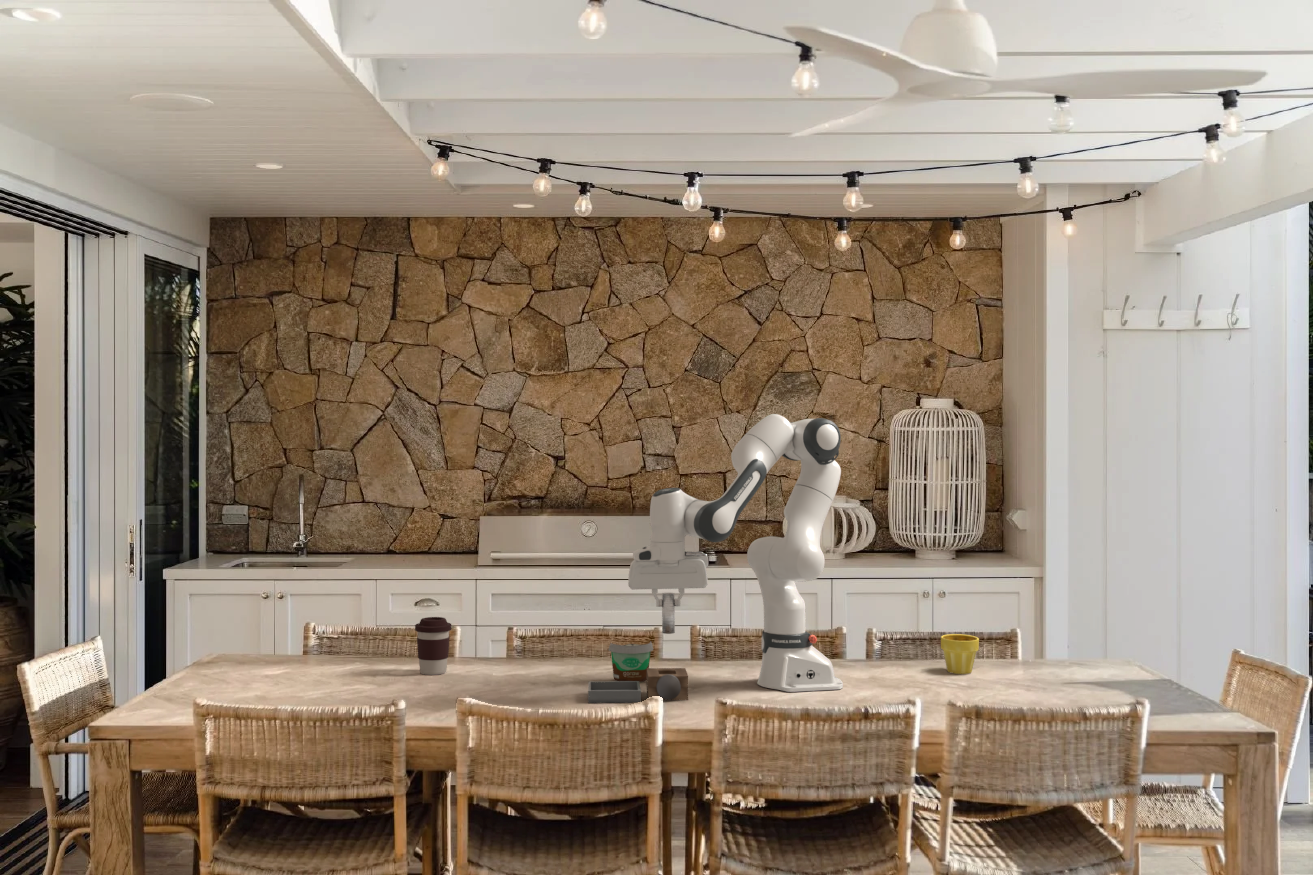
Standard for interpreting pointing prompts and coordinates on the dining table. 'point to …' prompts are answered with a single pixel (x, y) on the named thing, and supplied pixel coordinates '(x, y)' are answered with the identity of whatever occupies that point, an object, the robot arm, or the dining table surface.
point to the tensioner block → (667, 683)
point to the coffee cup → (433, 645)
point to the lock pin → (668, 613)
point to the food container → (630, 661)
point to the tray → (614, 691)
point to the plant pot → (959, 652)
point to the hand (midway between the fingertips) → (668, 606)
